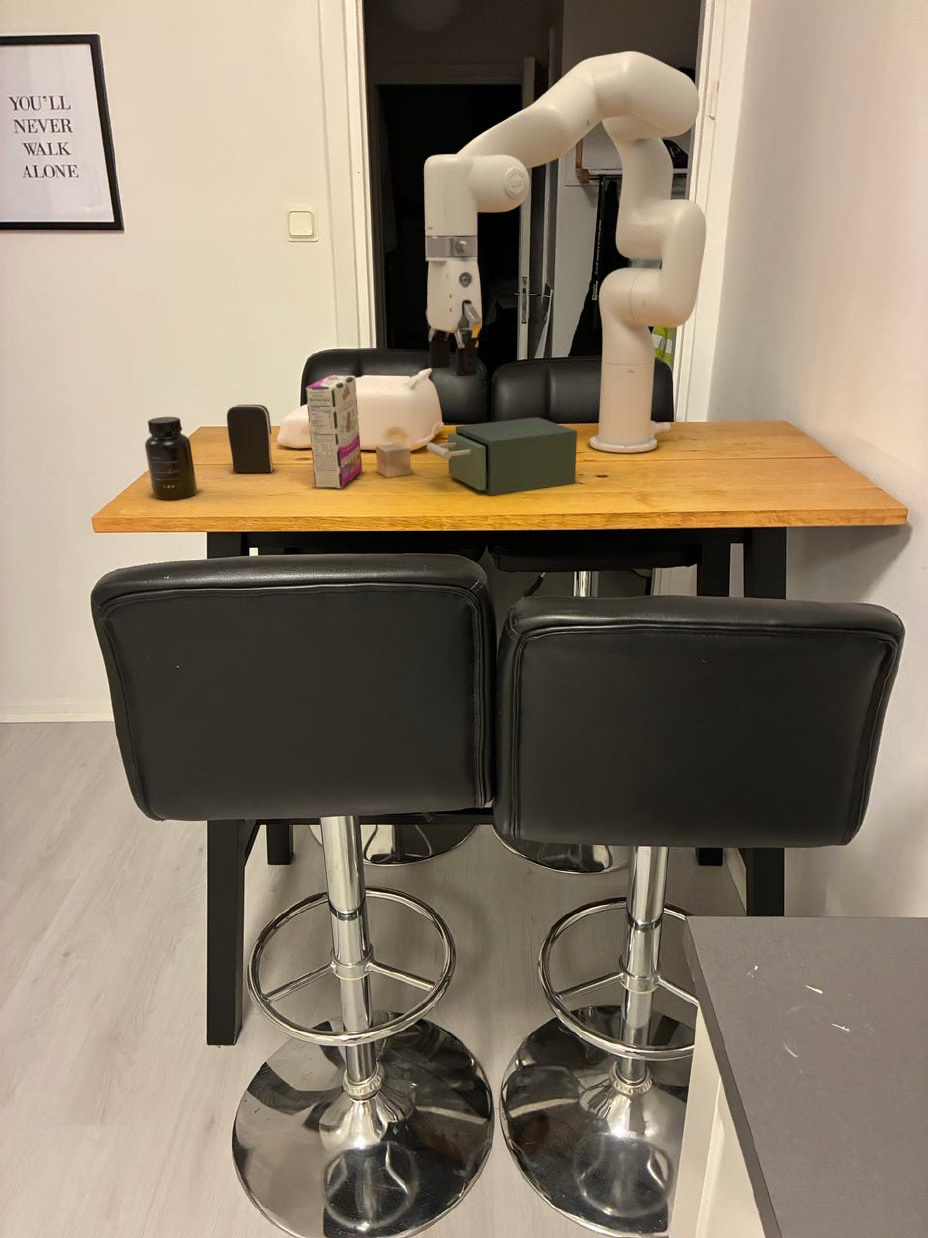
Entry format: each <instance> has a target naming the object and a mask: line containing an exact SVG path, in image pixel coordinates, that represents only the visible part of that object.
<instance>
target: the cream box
mask: <svg viewBox="0 0 928 1238" xmlns="http://www.w3.org/2000/svg"><path fill="white" fill-rule="evenodd" d="M375 452H376V453H375V457H376V472H377V473H378V474H380V475H382V476H383V477H385V478H394V477H402V476H409V475H410V476H411V475H412V463H411V461H412V460H411V451H410V448H408V447H406V446H404V445H402V444H401V443H398V444H389V445H381V446H376V450H375Z"/></svg>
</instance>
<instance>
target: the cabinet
mask: <svg viewBox="0 0 928 1238" xmlns="http://www.w3.org/2000/svg"><path fill="white" fill-rule="evenodd" d="M455 434H458V435H460V436H462V437H464V435H466V436H468V437H470V438H473V439H475V440H477V441H480V442H482V443H484V444H486V445H489V446H488V484H487V483H486V490H480V491H481V492H483V493H485V494H487V495H489V496H491V497H492V496H497V495H505V494H511V493H517V492H525V491H532V490H538V489H545V488H552V487H559V486H567V485H573V484H576V472H577V469H576V468H577V443H578V442H577V441H578V430H576V429H573V428H570V427H567V426H564V425H561V424H558V423H556V422H553V421H549V420H547V419H544V418H541V417H528V418H518V419H509V420H502V421H501V420H500V421H493V422H483V423H476V424H475V423H474V424H466V425H457V426H455Z"/></svg>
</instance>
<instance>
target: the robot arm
mask: <svg viewBox="0 0 928 1238" xmlns="http://www.w3.org/2000/svg"><path fill="white" fill-rule="evenodd" d="M699 95H700V94H699V92H698V88H697V87H696V85H695V82H693V80H692V79H691V77H689V75H687V74H685V73H684V72H681V71H680V70H678V69H676V68H674V67H673V66H670V65H668V64H666V63H665V62H663V61H660V60H658V59H657V58H655V57H653V56H650V55H649V54H645V53H643V52H639V51H632V50H631V51H629V50H628V51H627V50H626V51H621V52H616V53H609V54H603V55H598V56H597V55H596V56H593V57H589V58H587V59H584V60H582V61H580V62H579V63H578V64H576V65H574V67H572V69H570V70H569V71H568V72H567V73H566V74H565V75H563V76H562V77H561V78H560V79H559V80H558V81H557V82H556V83H554V85H553V86H551V87H550V88H549V89H548V90H547V91H546V92H545V93H543V94H542V95H541V96H540V97H539V98H537V100H535V101H534V102H533V103H532V104H530V105H529V106H527V107H526V108H523V109H522V110H520V111H518V112H516V113H515V114H513V115H511V116H509V117H508V118H507V119H505V120H503V121H501V122H499V123H497V124H496V125H494V126H492V127H491V128H488V129H487V130H486V131H484V132H482V133H481V134H479V135H478V136H476V137H475V138H473V139H472V140H471V141H470V142H468V143H467V144H466V145H465V146H463V148H462V149H460V150H459V151H458V152H457V153H455V154H454V153H452V154H450V153H449V154H446V153H445V154H435V155H431V156H429V157H428V158H427V159H426V160H425V163H424V167H423V176H424V177H423V182H424V183H423V184H424V188H423V189H424V190H423V191H424V222H425V223H424V230H425V262H428V269H427V270H428V271H427V274H428V275H427V293H426V294H427V299H426V301H427V302H426V304H427V306H426V307H427V308H426V310H425V315H426V320H427V324H426V325H427V326H426V327H427V329H428V332H429V333H428V341H429V366H430V368H431V369H443V368H450V366H451V341H450V340H448V339H449V335H450V333H451V334H454V337H455V339H456V343H457V347H456V348H455V375H456V376H457V377H470V376H476V375H477V374H478V348H479V338H480V336H481V333H480V331H481V329H482V326H483V315H482V314H483V311H482V310H483V309H482V308H483V307H482V292H481V290H482V289H481V279H480V271H479V270H480V269H479V266H478V265H479V264H478V213H503V212H504V213H505V212H509V211H511V210H514V209H516V208H517V207H519V206H520V205H521V204H522V203H524V201H525V199H526V198H527V196H528V193H529V191H530V175H529V172H528V170H527V169H531V168H535V167H540V166H543V165H545V164H548V163H550V162H553V161H555V160H557V159H559V158H562V157H564V155H566V154H567V153H569V151H570V150H571V149H572V148H573V147H575V146H576V145H577V144H578V143H579V142H580V141H581V140H582V139H583V138H584V137H585V136H586V135H587V134H588V133H589V132H590V131H592V130H593V129H594V128H595V127H596V126H597V125H598V124H599V123H602V125H603V128H604V131H606V133H607V135H608V136H609V138H610V139H611V141H612V143H613V145H614V146H615V148H616V150H617V153H618V155H619V158H620V161H621V167H622V179H621V190H620V198H619V205H618V206H619V207H618V214H617V221H616V230H615V245H616V249H617V251H618V253H619V254H620V255H622V256H623V257H624V258H628V259H632V260H643V261H645V260H646V261H661V268H653V267H623V268H618V269H616V270H613V271H612V272H610V273H609V274H607V276H606V277H605V278H604V279H603V281H602V283H601V285H600V289H599V294H598V304H599V312H600V318H601V319H600V320H601V329H602V352H601V353H602V355H601V373H600V391H599V392H600V393H599V394H600V395H599V416H598V434H596V435H594V436H592V437H590V438H589V446H590V447H591V448H593V449H596V450H598V451H603V452H609V453H617V454H618V453H621V454H630V453H632V454H633V453H644V452H649V451H652V450H654V449H656V448H657V447H658V440H657V439H656V438H655V436H657V435H658V434H665V433H669V432H670V431H671V428H672V426H671V424H670V422H668V421H665V422H659V423H657V422H656V421H654V420H651V418H652V404H653V403H652V401H653V388H654V377H655V376H654V374H655V360H656V346H655V341H654V338H653V335H652V333H651V330H650V329H649V327H656V328H670V329H671V328H673V329H674V328H678V327H681V326H683V325H684V324H686V322H687V321H689V319H690V318H691V316H692V314H693V312H694V309H695V306H696V302H697V297H698V292H699V287H700V279H701V273H702V266H703V261H704V255H705V248H706V241H707V223H706V222H707V221H706V218H705V214H704V211H703V210H702V208H701V207H700V206H699V204H697V203H696V202H695V201H692V200H691V199H690V200H689V199H685V198H684V199H683V198H682V199H681V198H678V199H677V198H674V199H673V198H672V199H671V197H672V187H673V177H674V164H673V161H672V158H671V155H670V153H669V150H668V148H667V146H666V145H665V144H664V141H663V139H662V138H671V137H677V136H681V135H683V134H685V133H687V132H688V131H689V130H690V129H691V128H692V126H694V124H695V122H696V120H697V118H698V115H699V112H700V96H699Z"/></svg>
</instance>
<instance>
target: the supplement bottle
mask: <svg viewBox="0 0 928 1238" xmlns="http://www.w3.org/2000/svg"><path fill="white" fill-rule="evenodd" d="M147 426H148V433H149V434H150V435H151V436H150V437H148V438H147V439H146V440H145V443H144V448H145V455H146V460H147V467H148V472H149V479H150V484H151V489H152V494H153V496H154V497H155V498H156V499H158V500H166V501H174V500H182V499H187V498H190V497H192V496H194V495H195V494H196V493H197V491H198V486H197V478H196V472H195V468H194V467H195V466H194V458H193V452H192V446H191V440H190V439H189V437H187V436H186V435H185V434H183V433H181V432H182V431H183V426H182V424H181V418H180V417H178V416H161V417H155V418H150V419H149V420H148V421H147Z"/></svg>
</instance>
